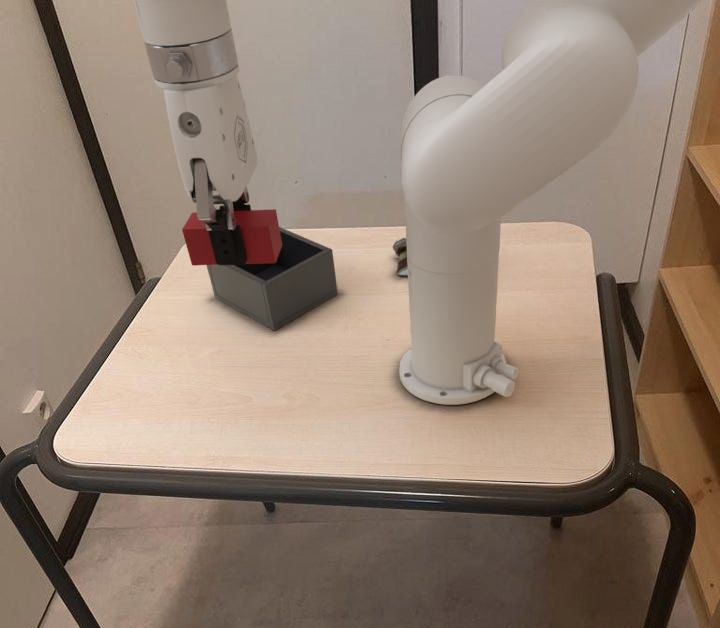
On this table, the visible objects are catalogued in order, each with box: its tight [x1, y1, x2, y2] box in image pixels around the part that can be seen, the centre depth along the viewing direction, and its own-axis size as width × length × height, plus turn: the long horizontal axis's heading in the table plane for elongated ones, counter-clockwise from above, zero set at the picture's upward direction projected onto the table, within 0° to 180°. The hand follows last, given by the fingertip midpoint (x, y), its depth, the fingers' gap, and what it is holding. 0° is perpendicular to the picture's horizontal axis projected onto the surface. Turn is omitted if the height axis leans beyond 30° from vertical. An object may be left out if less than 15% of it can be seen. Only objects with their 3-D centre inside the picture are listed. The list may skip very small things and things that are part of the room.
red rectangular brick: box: [181, 208, 282, 266], centre depth 74 cm, size 9×4×4 cm, turn 83°
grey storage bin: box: [206, 226, 339, 332], centre depth 99 cm, size 14×12×7 cm
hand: (237, 250), depth 76 cm, fingers closed on red rectangular brick, 3 cm apart
